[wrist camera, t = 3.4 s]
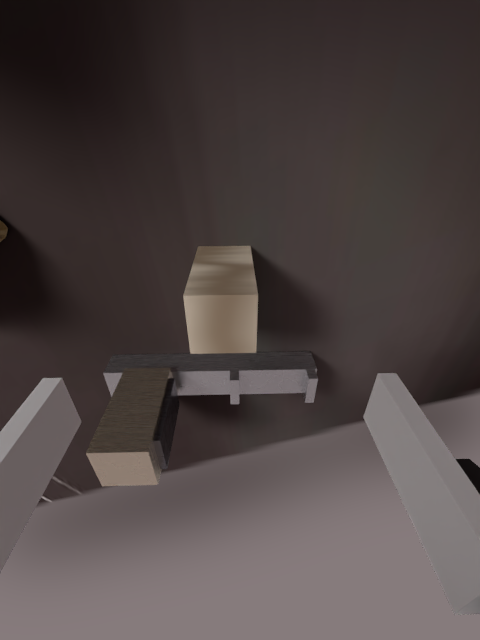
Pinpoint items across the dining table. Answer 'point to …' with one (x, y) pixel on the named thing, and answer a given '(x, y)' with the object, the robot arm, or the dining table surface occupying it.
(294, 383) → the grey l-shaped piece
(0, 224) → the rock
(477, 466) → the robot arm
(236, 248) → the block
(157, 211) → the dining table surface
